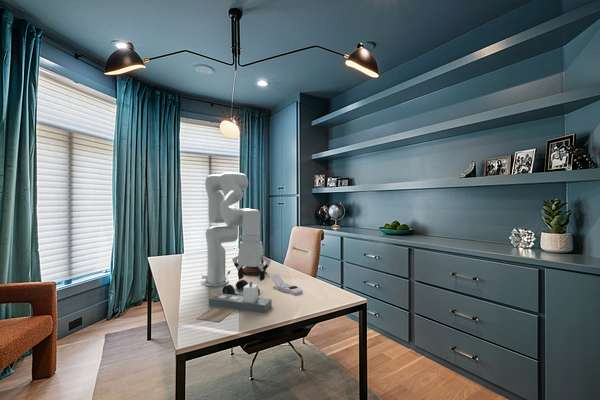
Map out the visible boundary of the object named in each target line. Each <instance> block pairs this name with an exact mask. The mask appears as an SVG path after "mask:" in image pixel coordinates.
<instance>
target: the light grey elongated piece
mask: <svg viewBox="0 0 600 400" xmlns="http://www.w3.org/2000/svg"><path fill="white" fill-rule="evenodd" d="M269 278H270V279H271V281H272V282H273V283H274V284H275V286H276V290H278V291H281V292H283V293H285V294H287V295H292V296H297V295H298V296H300V295H303V294H304V292H303V291H304V290H303V289H302V288H300V287H299V286H297V285H293V284H289V283H287V282H285V281H284V280H283V278H282V277H281V275H280V274H279V273H273V274H269Z"/></svg>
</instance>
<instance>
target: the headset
mask: <svg viewBox="0 0 600 400" xmlns="http://www.w3.org/2000/svg"><path fill="white" fill-rule="evenodd" d="M230 273H231V271H230V270H229V271H228V272H227V274H226V275H225V280H226V279H227V277H228V275H229V274H230ZM247 284H249V282H248V281H247V280H245V279H239V280H238V281H236V283H235V288H236V289H237V290H242V291H243V287H244V286H246V285H247ZM235 288H234V286H233V285H232V284H225V285H223V287H222V294H231V295H240V296H243V294H239V293H236V290H235ZM260 292H261V290H260V288H259V287H258V296H259V295H260Z"/></svg>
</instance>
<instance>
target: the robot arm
mask: <svg viewBox="0 0 600 400" xmlns="http://www.w3.org/2000/svg"><path fill="white" fill-rule="evenodd" d="M204 183H205V184H204V186H205V191H206V193H207V197H208V220H209V222H210V223H211V224H225V225H213V226H209V227H208V228H207V229H206V231H205V238H206V244H207V246H206V247H207V248H206V249H207V251H206V252H207V271H206V272H207V274H205V273H202V276H201V278H202V279H203V280H205V281H204V285H205V286H207V287H221V286H225V284H226V285H228V284H229V279H228V278H226V250H225V247H224V246H223V245H222V244H223V243H225V244H226V243H233V242H236V241H237V240H238V238H239V239H240V240H241V241H240V242H239V246H238V247H239V248H238V255H237V256H235V257H233V258H232V263H233V265H234V266H235V268H236V270H237V277H238V280H243V278H244V275H245V274H244V269H243V268H244V267H246V266H247V267H259V268H260V270H261V271H260V273H259V281H260V282H262V281H264V280H265V278H266V271H267V269H268V267H269V266H270V264H271V263H272V260H271V259H269V258H268V257H267V256H264V246H262V245H263V242H262V241H261V212H260V210H259V209H257V208H256V209H253V208H236V207H235V206H232V205H234V204H236V203H239V202H240V201H241V200H242V199H243V197H244V196H243V195H244V192H243V191H244V190H246V189H247V188H248V186H249V179H248V177H247V175H246V174H244V173H241V172H224V173H221V174H210V175H208V176H206V178H205V182H204ZM221 191H222V192H221ZM239 226H241V235H239ZM264 262H266V263H265V264H264ZM265 270H266V271H265ZM225 278H226V280H225ZM202 279H201V280H202Z"/></svg>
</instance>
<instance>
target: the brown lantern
mask: <svg viewBox="0 0 600 400" xmlns="http://www.w3.org/2000/svg"><path fill="white" fill-rule="evenodd" d="M262 246H263V244H262ZM263 247H264V246H263ZM242 268H243V269H244V275H245V274H247V275H248V274H249V275H256V276H259V275H260V271H261V270H260V268H259V267H247V266H244V267H242ZM266 271H267V269H266V270H265V272H266Z"/></svg>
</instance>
